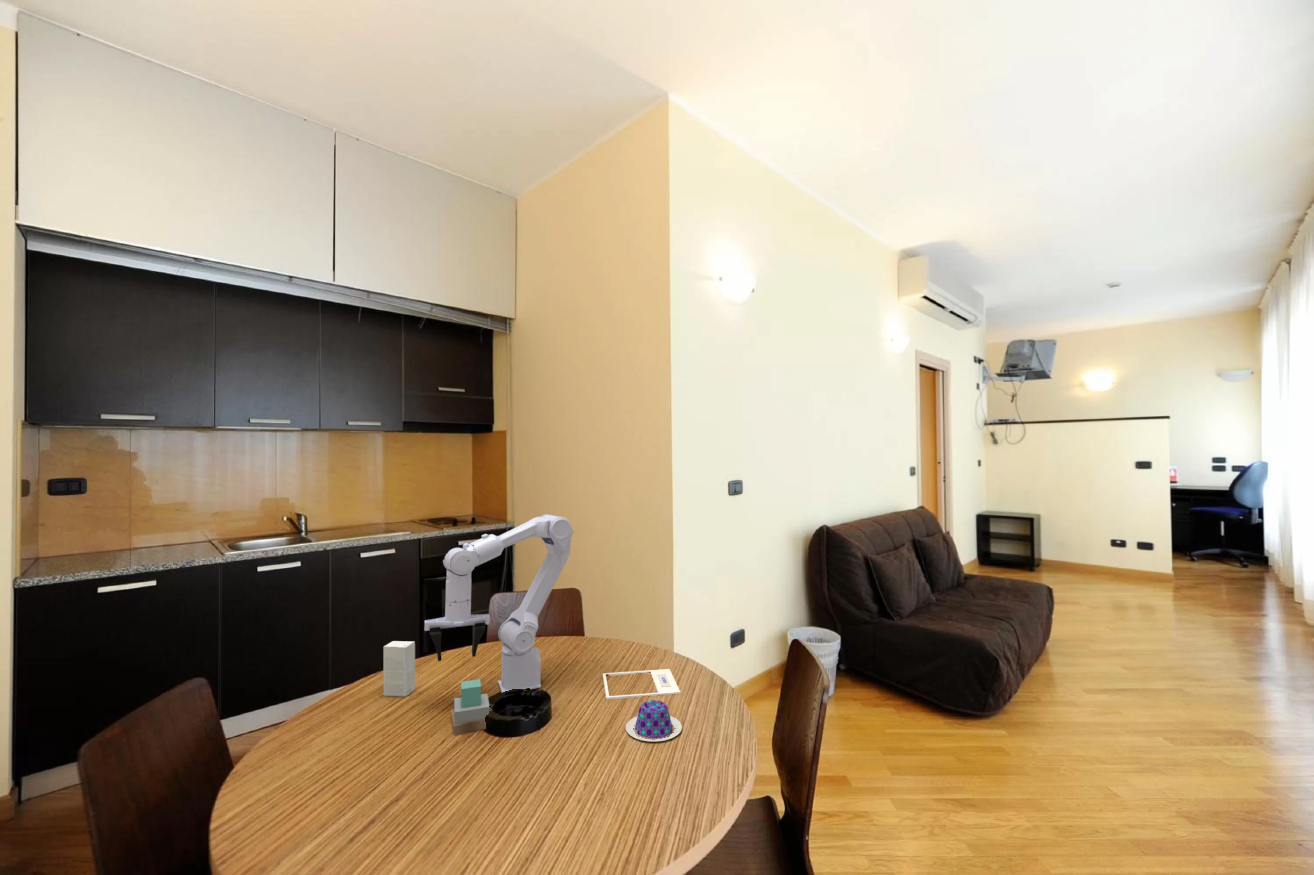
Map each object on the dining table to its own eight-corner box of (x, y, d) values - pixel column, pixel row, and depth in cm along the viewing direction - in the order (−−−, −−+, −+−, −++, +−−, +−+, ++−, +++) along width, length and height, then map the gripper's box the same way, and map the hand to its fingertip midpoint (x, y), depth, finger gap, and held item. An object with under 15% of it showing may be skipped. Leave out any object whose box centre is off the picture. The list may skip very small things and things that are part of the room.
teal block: (480, 697, 122) (480, 679, 122) (480, 704, 118) (480, 686, 118) (460, 700, 121) (461, 681, 121) (461, 708, 117) (461, 689, 117)
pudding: (614, 727, 118) (614, 702, 118) (659, 711, 125) (659, 688, 125) (647, 751, 108) (647, 724, 108) (693, 732, 115) (693, 707, 116)
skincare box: (415, 689, 137) (415, 641, 137) (406, 697, 132) (406, 647, 133) (392, 688, 137) (392, 640, 138) (382, 696, 133) (382, 646, 133)
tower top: (487, 704, 124) (487, 693, 124) (489, 718, 117) (489, 706, 118) (454, 709, 121) (454, 698, 122) (454, 724, 115) (454, 712, 115)
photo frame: (680, 691, 133) (606, 696, 131) (680, 695, 133) (606, 701, 131) (669, 668, 148) (602, 672, 145) (669, 672, 148) (602, 676, 145)
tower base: (488, 713, 125) (488, 702, 125) (493, 729, 118) (493, 718, 118) (451, 720, 121) (451, 709, 122) (453, 738, 114) (453, 725, 114)
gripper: (425, 606, 124) (423, 667, 123) (491, 600, 130) (490, 658, 129) (425, 599, 130) (423, 657, 130) (488, 593, 136) (486, 649, 136)
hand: (456, 657), depth 130 cm, fingers open, 7 cm apart
